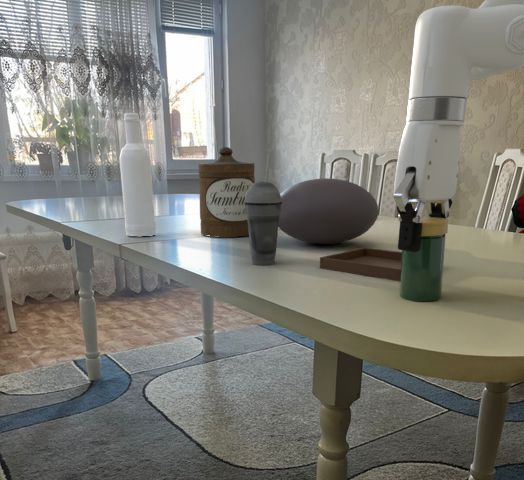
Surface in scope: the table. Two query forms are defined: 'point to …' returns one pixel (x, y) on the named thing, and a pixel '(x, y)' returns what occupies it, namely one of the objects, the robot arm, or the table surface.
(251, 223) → the beverage cup
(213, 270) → the table surface
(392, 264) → the tray
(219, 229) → the wooden container
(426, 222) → the lid
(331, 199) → the smooth stone
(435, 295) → the jar
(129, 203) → the bottle
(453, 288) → the table surface
